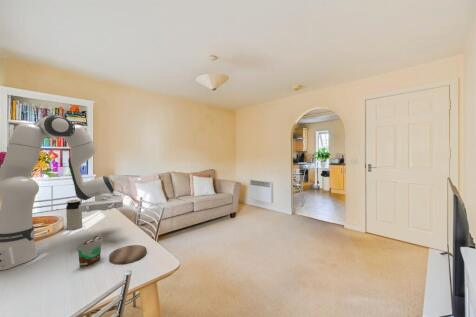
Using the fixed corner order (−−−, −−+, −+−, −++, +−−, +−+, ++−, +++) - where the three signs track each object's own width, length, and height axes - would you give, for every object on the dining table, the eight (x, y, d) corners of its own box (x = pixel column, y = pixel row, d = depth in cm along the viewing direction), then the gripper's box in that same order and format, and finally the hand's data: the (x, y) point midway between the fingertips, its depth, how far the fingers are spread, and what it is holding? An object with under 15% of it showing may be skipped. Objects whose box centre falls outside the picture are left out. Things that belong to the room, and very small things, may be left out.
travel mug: (74, 230, 137) (73, 202, 137) (63, 229, 139) (62, 201, 138) (85, 226, 145) (84, 199, 144) (75, 225, 147) (74, 198, 146)
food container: (91, 268, 92) (90, 245, 92) (77, 268, 93) (76, 245, 92) (109, 255, 105) (108, 234, 104) (96, 254, 105) (96, 234, 105)
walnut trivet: (106, 267, 94) (106, 263, 94) (111, 251, 108) (111, 248, 108) (146, 259, 100) (146, 256, 100) (146, 245, 115) (146, 242, 115)
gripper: (82, 198, 120) (74, 205, 107) (123, 194, 127) (121, 200, 115) (82, 210, 120) (75, 218, 107) (124, 205, 128) (121, 212, 115)
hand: (99, 209), depth 111 cm, fingers open, 8 cm apart
